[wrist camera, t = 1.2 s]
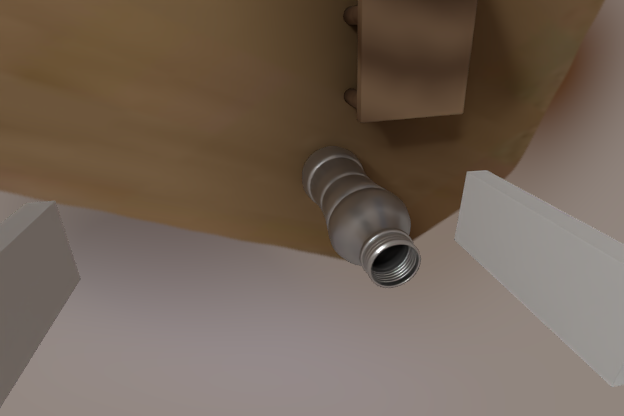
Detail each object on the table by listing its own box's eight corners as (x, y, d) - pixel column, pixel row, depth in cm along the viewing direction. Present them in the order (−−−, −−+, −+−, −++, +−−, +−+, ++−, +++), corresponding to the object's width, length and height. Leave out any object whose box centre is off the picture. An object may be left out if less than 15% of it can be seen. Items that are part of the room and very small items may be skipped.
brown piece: (339, 2, 35) (362, -5, 29) (436, -2, 37) (478, -9, 31) (340, 108, 40) (360, 122, 33) (427, 101, 41) (462, 113, 35)
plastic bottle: (287, 161, 41) (328, 258, 23) (340, 129, 41) (422, 203, 23) (315, 205, 44) (370, 321, 26) (364, 175, 44) (454, 272, 26)
